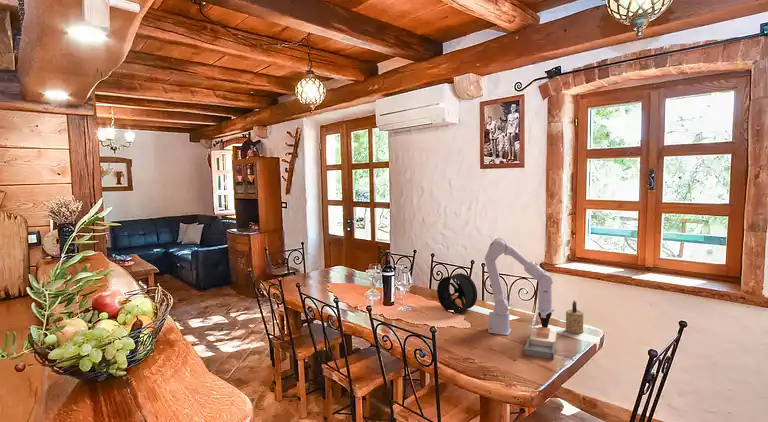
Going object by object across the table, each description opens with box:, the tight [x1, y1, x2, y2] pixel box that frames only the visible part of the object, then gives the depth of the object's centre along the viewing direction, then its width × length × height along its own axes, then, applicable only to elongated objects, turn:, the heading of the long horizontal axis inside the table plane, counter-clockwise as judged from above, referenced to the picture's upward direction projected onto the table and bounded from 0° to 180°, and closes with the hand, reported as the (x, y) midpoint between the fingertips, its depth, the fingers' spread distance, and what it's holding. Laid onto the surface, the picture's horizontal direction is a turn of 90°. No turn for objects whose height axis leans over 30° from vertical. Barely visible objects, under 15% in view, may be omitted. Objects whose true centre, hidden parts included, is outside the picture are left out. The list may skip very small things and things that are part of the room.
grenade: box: [565, 299, 584, 335], centre depth 191 cm, size 8×7×15 cm
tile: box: [537, 326, 551, 338], centre depth 183 cm, size 5×7×2 cm
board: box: [529, 328, 558, 347], centre depth 182 cm, size 10×12×2 cm
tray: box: [523, 337, 557, 361], centre depth 171 cm, size 11×12×3 cm
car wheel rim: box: [436, 272, 478, 314], centre depth 225 cm, size 20×10×20 cm, turn 40°
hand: (544, 328), depth 188 cm, fingers closed
